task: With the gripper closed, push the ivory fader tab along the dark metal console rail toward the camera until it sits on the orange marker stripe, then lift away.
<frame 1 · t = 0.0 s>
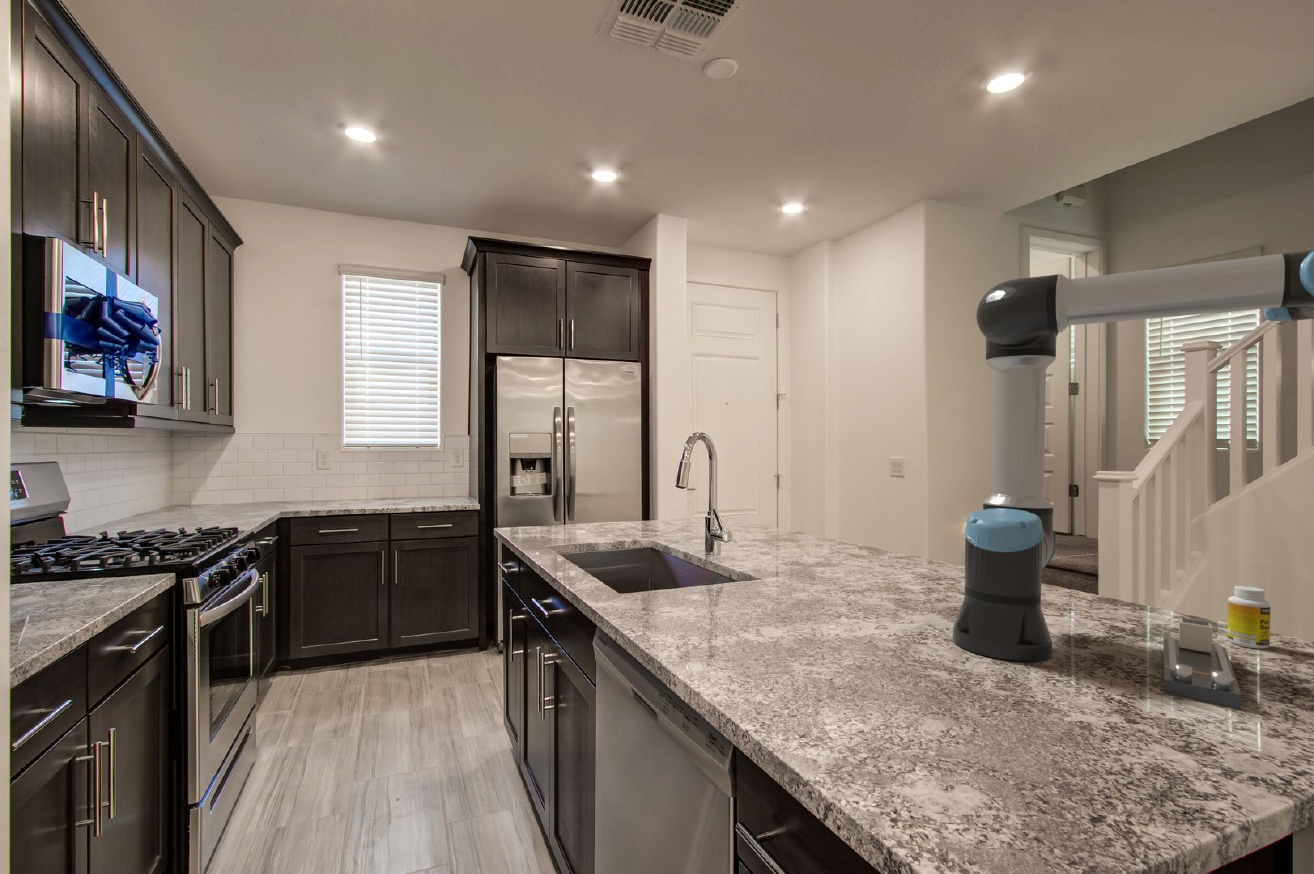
supplement bottle: (1248, 645, 113), on the countertop
console: (1197, 675, 97), on the countertop
fader tab: (1195, 633, 103), point 5 cm above the countertop, slide at 8.0 cm
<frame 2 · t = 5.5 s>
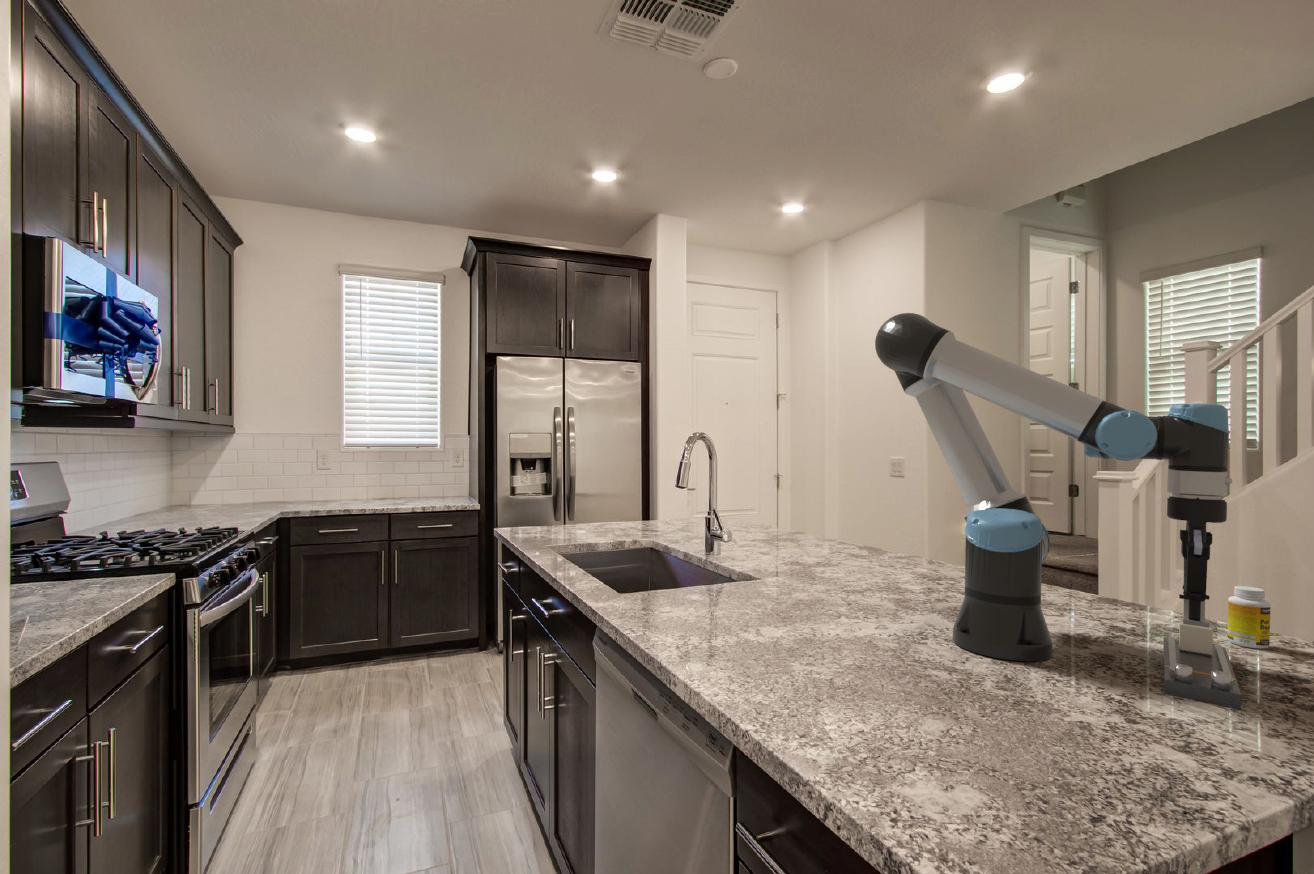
hand: (1193, 638, 104), 4 cm above the countertop, fingers closed
fader tab: (1195, 635, 102), point 5 cm above the countertop, slide at 6.6 cm, touching gripper
everything else where it was.
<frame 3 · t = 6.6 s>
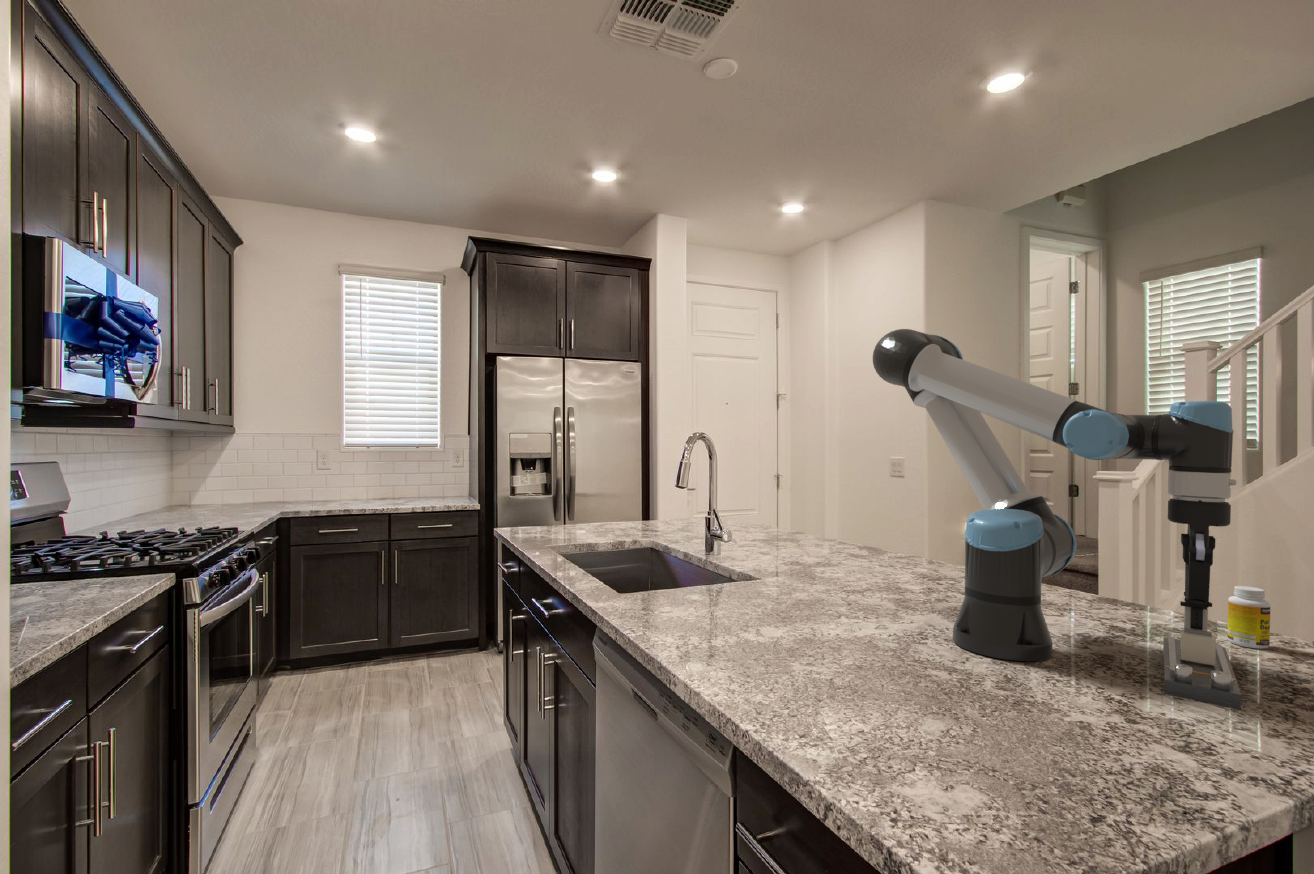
hand: (1195, 647, 99), 4 cm above the countertop, fingers closed
fader tab: (1197, 645, 97), point 5 cm above the countertop, slide at 0.2 cm, touching gripper
everything else where it was.
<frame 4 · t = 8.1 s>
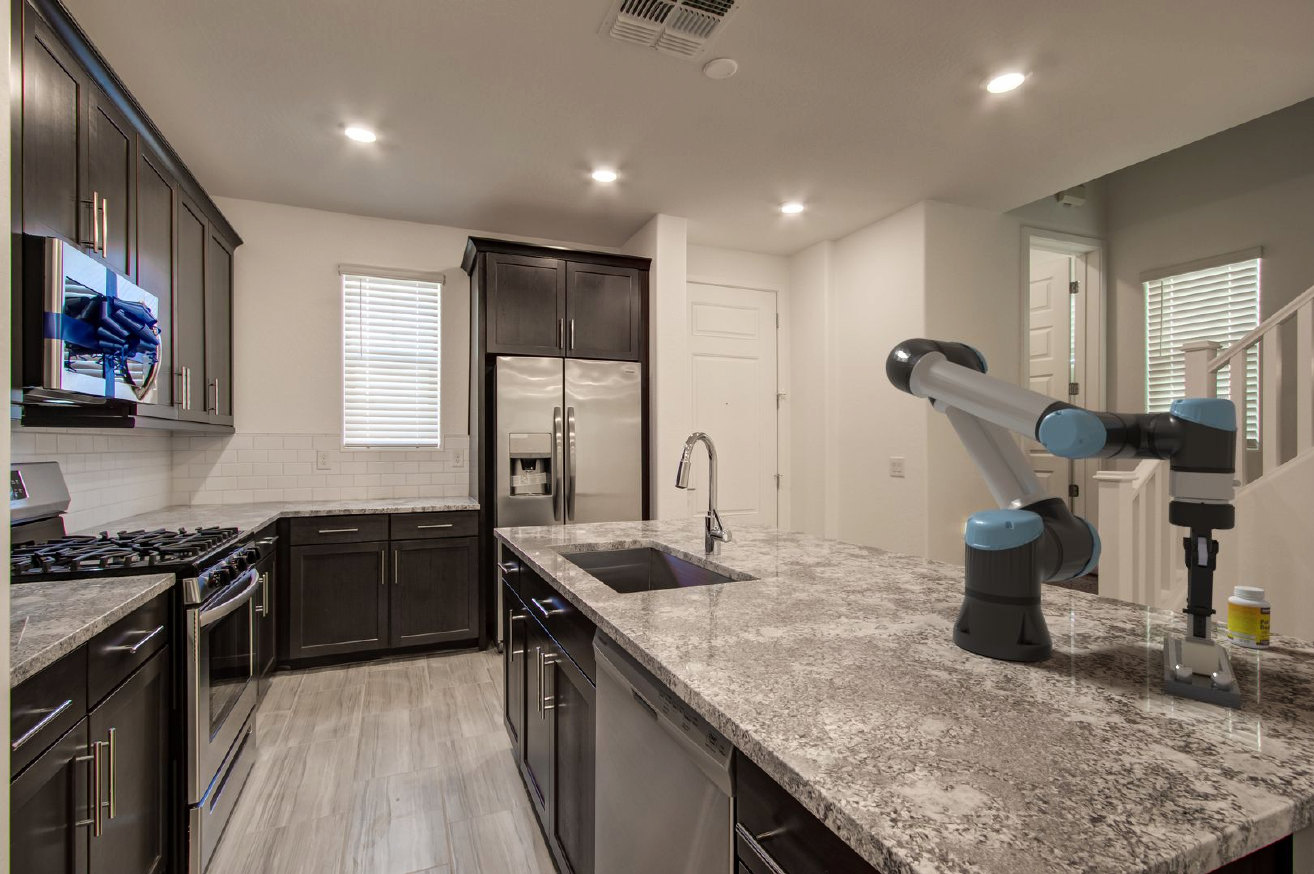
hand: (1198, 657, 94), 4 cm above the countertop, fingers closed
fader tab: (1199, 654, 92), point 5 cm above the countertop, slide at -5.7 cm, touching gripper
everything else where it was.
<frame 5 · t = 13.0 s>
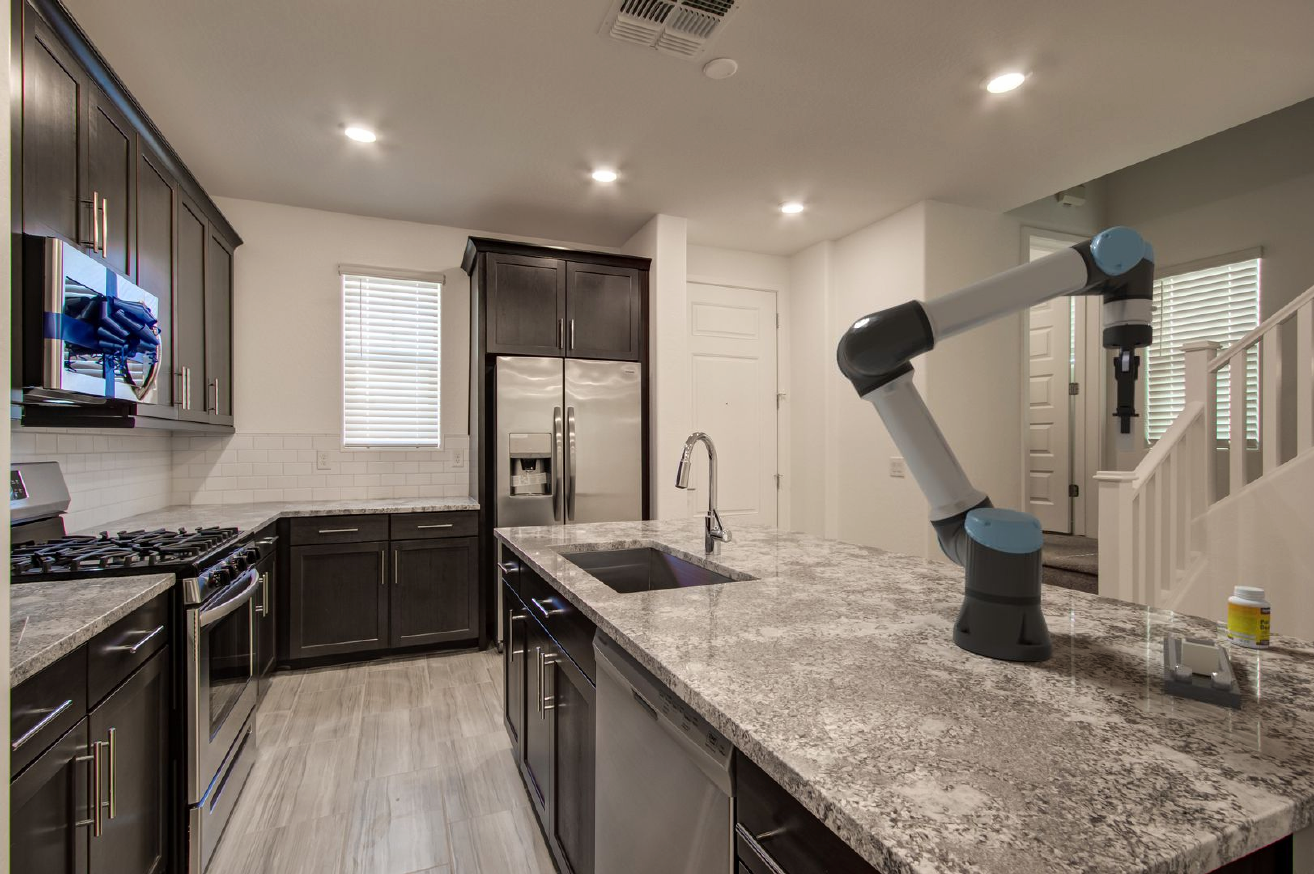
hand: (1125, 451, 117), 34 cm above the countertop, fingers closed
fader tab: (1199, 655, 92), point 5 cm above the countertop, slide at -5.9 cm
everything else where it was.
at the end: fader tab slide at -5.9 cm; the gripper is holding nothing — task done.
